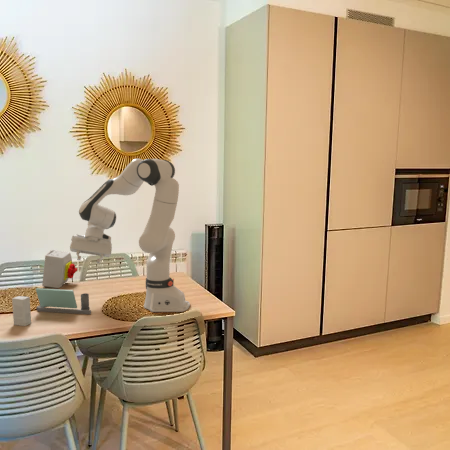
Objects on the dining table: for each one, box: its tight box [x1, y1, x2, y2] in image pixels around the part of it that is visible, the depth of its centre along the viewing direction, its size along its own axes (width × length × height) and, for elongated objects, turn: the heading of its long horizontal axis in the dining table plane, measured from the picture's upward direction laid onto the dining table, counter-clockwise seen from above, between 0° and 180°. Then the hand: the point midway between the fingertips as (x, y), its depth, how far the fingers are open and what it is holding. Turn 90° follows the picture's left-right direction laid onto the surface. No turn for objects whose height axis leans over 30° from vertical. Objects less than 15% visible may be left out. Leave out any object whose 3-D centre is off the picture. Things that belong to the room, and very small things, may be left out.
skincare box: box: [11, 295, 32, 327], centre depth 203 cm, size 6×4×12 cm
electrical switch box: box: [41, 249, 78, 289], centre depth 262 cm, size 15×15×20 cm
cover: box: [35, 287, 78, 309], centre depth 217 cm, size 18×10×1 cm
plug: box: [80, 293, 91, 310], centre depth 222 cm, size 4×4×8 cm
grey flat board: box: [36, 304, 92, 315], centre depth 224 cm, size 27×12×2 cm, turn 82°
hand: (88, 261), depth 230 cm, fingers open, 8 cm apart
